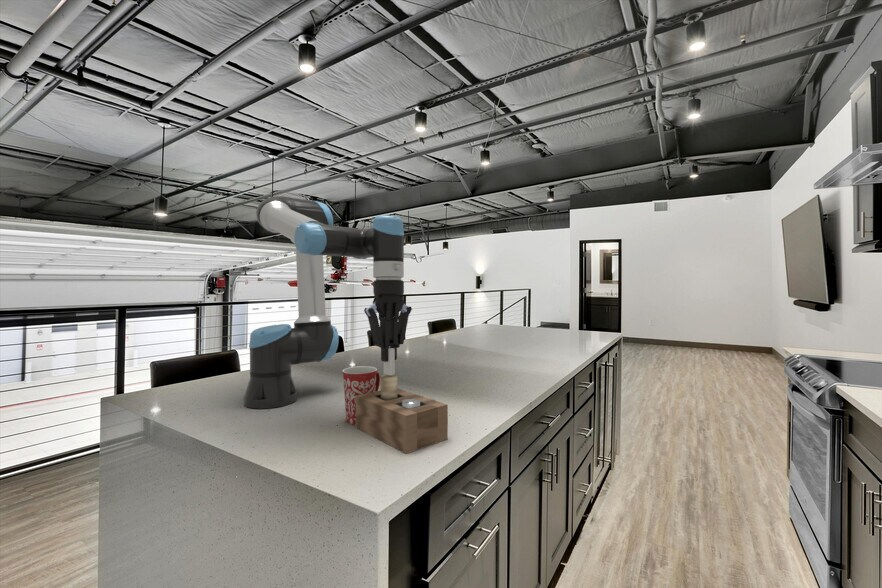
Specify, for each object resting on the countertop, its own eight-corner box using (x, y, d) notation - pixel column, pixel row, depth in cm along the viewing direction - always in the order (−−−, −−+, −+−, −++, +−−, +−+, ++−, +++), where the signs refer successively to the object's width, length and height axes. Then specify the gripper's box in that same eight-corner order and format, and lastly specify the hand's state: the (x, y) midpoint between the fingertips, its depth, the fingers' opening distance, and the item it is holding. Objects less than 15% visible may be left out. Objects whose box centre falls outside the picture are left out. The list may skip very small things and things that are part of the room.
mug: (362, 428, 97) (362, 374, 97) (335, 422, 102) (334, 370, 101) (392, 414, 108) (391, 365, 108) (366, 409, 113) (366, 362, 113)
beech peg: (377, 405, 97) (377, 376, 97) (391, 402, 100) (391, 373, 100) (386, 409, 94) (386, 378, 94) (400, 406, 97) (400, 376, 97)
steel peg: (398, 433, 91) (398, 401, 91) (412, 428, 94) (412, 397, 94) (409, 438, 88) (409, 405, 88) (423, 433, 91) (423, 401, 90)
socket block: (355, 427, 98) (355, 395, 98) (395, 416, 106) (394, 387, 106) (405, 453, 82) (405, 415, 82) (447, 438, 90) (447, 404, 90)
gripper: (374, 278, 90) (374, 380, 90) (418, 279, 98) (419, 372, 99) (357, 279, 95) (358, 375, 96) (401, 280, 104) (401, 368, 104)
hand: (389, 373), depth 97 cm, fingers closed
